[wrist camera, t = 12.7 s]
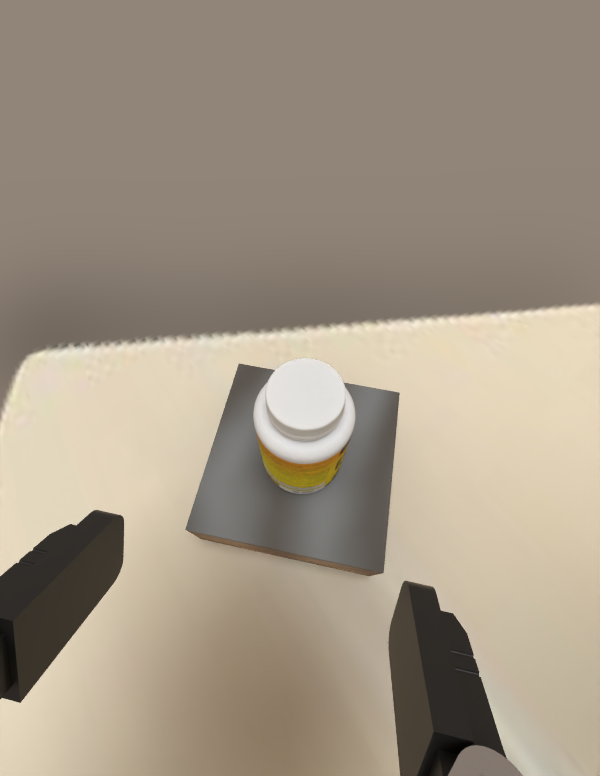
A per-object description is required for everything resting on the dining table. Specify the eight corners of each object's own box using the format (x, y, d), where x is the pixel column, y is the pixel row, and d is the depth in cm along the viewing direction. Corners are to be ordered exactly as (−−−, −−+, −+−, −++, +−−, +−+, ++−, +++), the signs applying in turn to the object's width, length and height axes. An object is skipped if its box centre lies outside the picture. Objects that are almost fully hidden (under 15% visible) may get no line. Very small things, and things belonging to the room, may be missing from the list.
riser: (385, 418, 35) (399, 392, 30) (369, 575, 29) (383, 572, 24) (245, 391, 36) (239, 363, 31) (201, 538, 30) (185, 529, 25)
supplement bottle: (341, 497, 26) (365, 449, 17) (260, 494, 26) (241, 444, 17) (340, 422, 29) (361, 345, 20) (266, 419, 29) (253, 341, 20)
